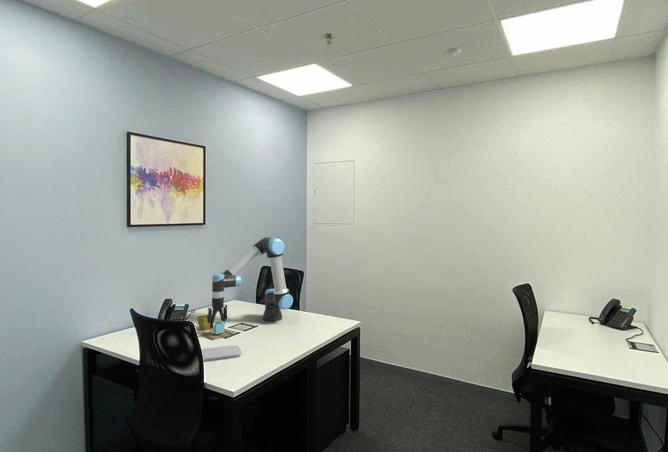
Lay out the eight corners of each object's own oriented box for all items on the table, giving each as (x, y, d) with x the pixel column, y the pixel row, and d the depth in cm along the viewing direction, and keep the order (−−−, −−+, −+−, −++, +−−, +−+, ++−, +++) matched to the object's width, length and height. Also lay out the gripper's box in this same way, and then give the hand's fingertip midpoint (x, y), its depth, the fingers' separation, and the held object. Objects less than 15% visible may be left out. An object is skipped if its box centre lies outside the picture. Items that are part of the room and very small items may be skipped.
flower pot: (214, 329, 267) (214, 316, 266) (203, 331, 260) (203, 318, 260) (208, 326, 273) (208, 314, 272) (196, 329, 266) (196, 316, 266)
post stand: (221, 330, 265) (221, 319, 264) (233, 334, 256) (234, 322, 256) (200, 335, 252) (200, 323, 252) (212, 340, 243) (213, 328, 243)
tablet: (191, 353, 220) (191, 350, 220) (237, 348, 231) (237, 344, 231) (194, 364, 206) (194, 360, 205) (242, 357, 216) (242, 353, 216)
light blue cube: (218, 330, 258) (218, 321, 258) (224, 332, 254) (224, 323, 254) (210, 332, 253) (210, 323, 253) (215, 334, 249) (216, 325, 249)
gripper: (226, 294, 263) (226, 327, 264) (201, 298, 248) (201, 333, 249) (233, 296, 258) (232, 329, 259) (208, 300, 243) (207, 336, 244)
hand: (217, 331), depth 254 cm, fingers closed on light blue cube, 6 cm apart
